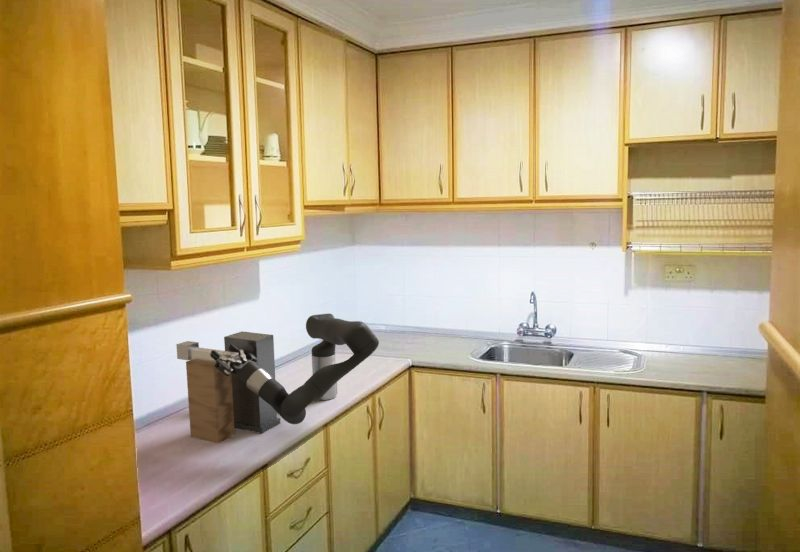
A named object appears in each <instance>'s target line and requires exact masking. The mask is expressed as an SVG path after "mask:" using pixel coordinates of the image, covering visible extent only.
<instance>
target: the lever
mask: <svg viewBox="0 0 800 552" xmlns="http://www.w3.org/2000/svg"><path fill="white" fill-rule="evenodd" d="M175 346H176V358H177V360H182V361H190V360H194V361H201V362H208V363H216V361H215V360H214V359H213V358H212V357H211V356H210V354H211V351H212V350H215V351H216V352H217V353H218V354H220V355H221V357H224V358H231V359H233V358H236V357H239V353H237V352H229V351H225V350H221V349H213V348H205V347H200V345H199V342H198V341H197V342H196V341H189V340H186V341H182V342H179V343H176V345H175ZM222 362H223V363H226V362H225V361H222ZM228 366H230V362H228Z"/></svg>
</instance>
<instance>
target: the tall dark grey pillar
mask: <svg viewBox="0 0 800 552" xmlns="http://www.w3.org/2000/svg"><path fill="white" fill-rule="evenodd" d="M223 341H224V351H229V352H231V351H230V350H229V347H230V345H231V344H233V345H235V346H236V347H237V348H239V349H240V350H243V351H245V350H248V351H249V352H250V353H251V354H253V355H254V356H255V357H256V358H257V359H258V361H257V364H258V365H259V366H260V367H262V368H263V369H264V370H265V371H267V372H268V373H269V374H270V375H271V376H272V377H273V378H274V379H275V380H276V366H275V365H276V363H275V362H276V361H275V346H274V345H275V343H274V342H275V341H274V334H268V333H258V332H249V331H242V330H241V331H239V332H236V333H232V334H229V335H226V336H224V337H223ZM247 356H248V354H247ZM231 375H232V393H233V412H234V429H236V430H237V429H238V430H239V429H240V430H244V431H247V430H248V432H252V431H253V432H254V433H257V432H259V433H258V434H264V433H265V432H267V431H270V430H271V429H273V428H275V427H277V426H279V425H280V424H281V417H278V413H277V412H276V411H275V410H274V408H273V407H272V406H271V405H269V404H268V403H267V402H265V401H264V400H263V399H262V398H261V397H259V396H258V395H257V394H255V393H254V392H252V391H251V390H250V389H249V388H248V387H246V386H245V385H244V384H243V383H242V382H240V381H239V380H238V377H237V375H236V374H235V373H231ZM269 429H270V430H269Z"/></svg>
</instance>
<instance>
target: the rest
mask: <svg viewBox="0 0 800 552" xmlns="http://www.w3.org/2000/svg"><path fill="white" fill-rule="evenodd" d="M214 365H215V363H208V362H201V361H194V360H186V361H185V368H186V384H187V399H188V400H187V401H188V415H189V416H188V417H189V432H190V438H194V439H198V440H199V439H200V440H204V441H207V442H213V443H216V444H219V443H221V442H223V441H224V440H226V439H229V438H231V437H232V436H234V435H236V434H235V433H236V432H235V428H234V412H233V393H232V375H231V373H230V375H229V376H226V375H225V374H223V373H222V372H221V371H219V370H218V369H217V368H216V367H215V366H214ZM219 366H220V367H221V365H219Z"/></svg>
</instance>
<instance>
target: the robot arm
mask: <svg viewBox="0 0 800 552" xmlns="http://www.w3.org/2000/svg"><path fill="white" fill-rule="evenodd" d="M305 329H306V332H307V334H308V336H309V337H310V338H311V339H318V340H319V339H320V340H322V341H321V342H319V343H318V344H316V345H314V346H312V348H311V368H312V371H311V376H310V377H309V378H308V379H307V380H306V381H305V382H304V383H303V384H302V385H300V386H299V387H297V388H295V389H294V390H293V391H291V392H290V393H288V392H287V391H286V388H285V386H283V385H282V384H281V383H280V382H279V381H277V379H276V378H275V379H274V378H273V377H272V376H271V375H270V374H269V373H268V372H267V371H265V370H264V369H263V368H262V367H260V366H259V365H258V364H257V361H258V359H257V358H256V357H255V356H254V355H253V354H251V353H250V352H249V351H248V350H245V351H243V350H240V349H239V348H237V347H236V346H235V345H233V344H231V345H230V347H229V350H230V351H231V352H237V353H239V357H236V358H233V359H231V358H224V357H221V355H220V354H218V353H217V352H216V351H215V350H216V349H214V350H212V351H211V354H210V356H211V357H212V358H213V359H214V360H215V361H216V363H215V365H214V366H215V367H216V368H217V369H218V370H219V371H221V372H222V373H223V374H225V375H226V376H229V375H230V373H235V374H236V375H237V377H238V380H239V381H240V382H242V383H243V384H244V385H245V386H246V387H248V388H249V389H250V390H251V391H252V392H254V393H255V394H257V395H258V396H259V397H261V398H262V399H263V400H264V401H265V402H267V403H268V404H269V405H271V406H272V407H273V408H274V410H275V411H276V412H277V415H279V416H280V418H282V419H283V421H285V422H287V423H288V424H290V425H298V424H301V423H302V422H303V421H304V420H305V418H306V415H307V410H306V409H307V407H308V406H309V405H310V404H312V403H314V402H316V403H317V402H319V401H328V400H332V399H334V398H337V395H338V382H339V381H340V380H341V379H342V378H343V377H345V376H346V375H347V374H349V373H350V372H351V371H353V370H354V369H355V368H356V367H358V366H359V365H360V364H361V363H363V362H364V361H365V360H367V358H369V357H370V356H372V354H373V353H374V352H375V351H376V350H377V348H378V347H379V344H380V340H379V339H378V337H377V336H376V335H375V334H374V332H373V331H372V330H371V328H370V327H369V326H368V325H367V323H365V322H363V321H360V320H357V321H356V320H355V321H352V320H351V321H350V320H345V319H342V318H335V316H334V315H333V314H332V313H321V314H313V315H310V316H309V317H308V318H307V319H306V323H305ZM345 345H346V346H347V347H348V349H350V351H351V352H352V353H353V355H351V356H350V357H349V358H347V359H346V360H344V361H342V362H338V363H336V347H337V346H345ZM247 354H248V356H247ZM222 361H225V362H226V363H223V362H222ZM228 362H230V366H228ZM219 365H221V367H220V366H219Z"/></svg>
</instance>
